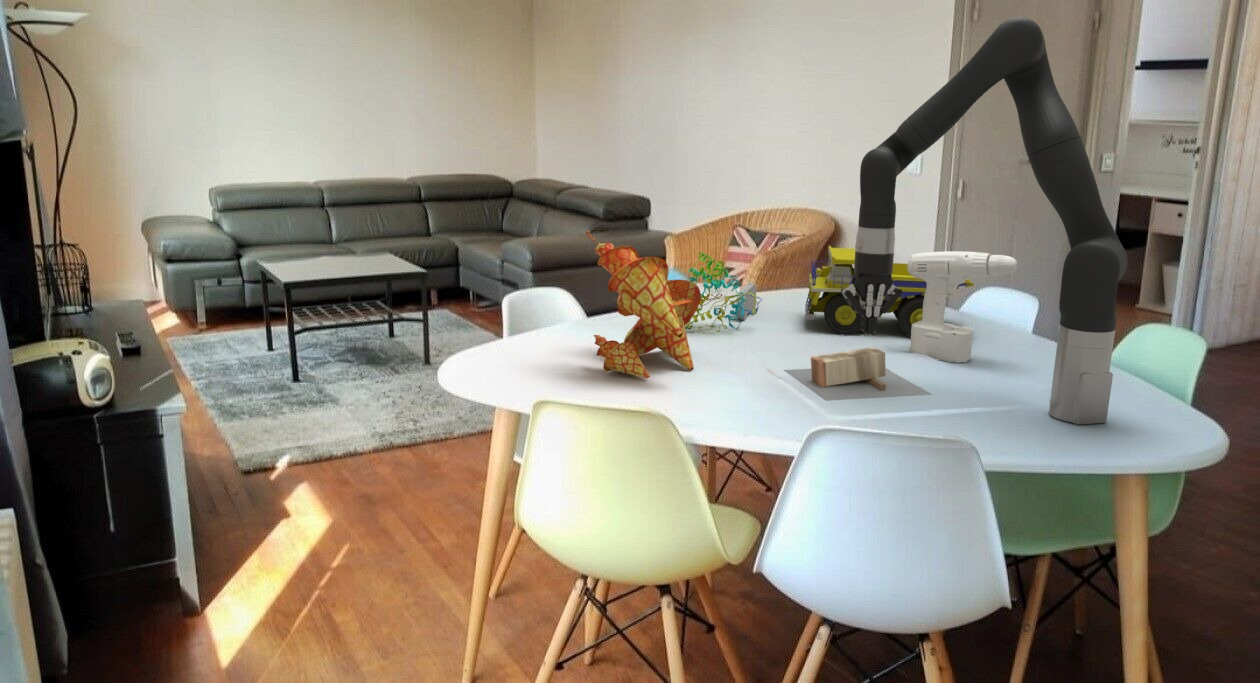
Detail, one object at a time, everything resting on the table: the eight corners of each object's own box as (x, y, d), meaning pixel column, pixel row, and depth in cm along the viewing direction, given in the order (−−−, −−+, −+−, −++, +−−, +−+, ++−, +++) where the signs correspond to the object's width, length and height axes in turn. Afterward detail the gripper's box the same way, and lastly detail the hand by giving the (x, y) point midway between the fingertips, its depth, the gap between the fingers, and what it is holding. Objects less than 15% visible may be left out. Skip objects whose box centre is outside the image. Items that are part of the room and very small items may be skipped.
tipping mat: (931, 399, 185) (932, 388, 184) (825, 405, 180) (826, 394, 180) (879, 369, 206) (880, 359, 205) (783, 374, 201) (783, 364, 200)
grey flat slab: (747, 308, 269) (749, 279, 267) (755, 308, 268) (757, 280, 266) (734, 322, 251) (735, 291, 249) (742, 323, 250) (744, 292, 248)
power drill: (999, 371, 205) (1011, 258, 199) (894, 353, 220) (902, 247, 214) (1011, 363, 212) (1023, 254, 206) (908, 346, 226) (917, 243, 220)
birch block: (885, 352, 190) (820, 363, 187) (885, 376, 191) (821, 387, 189) (873, 346, 194) (810, 357, 192) (874, 369, 196) (811, 380, 193)
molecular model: (680, 253, 228) (693, 232, 241) (656, 326, 239) (670, 301, 252) (767, 287, 226) (776, 263, 239) (739, 358, 237) (748, 332, 250)
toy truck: (969, 342, 231) (977, 263, 227) (805, 335, 238) (809, 257, 233) (953, 322, 254) (960, 249, 249) (803, 315, 260) (807, 244, 255)
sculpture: (682, 316, 179) (588, 193, 193) (604, 408, 192) (521, 287, 207) (771, 315, 204) (682, 207, 219) (696, 397, 217) (617, 290, 232)
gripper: (852, 253, 182) (846, 339, 186) (914, 251, 184) (907, 337, 189) (835, 247, 189) (830, 331, 193) (896, 246, 192) (889, 328, 196)
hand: (868, 333), depth 191 cm, fingers closed
